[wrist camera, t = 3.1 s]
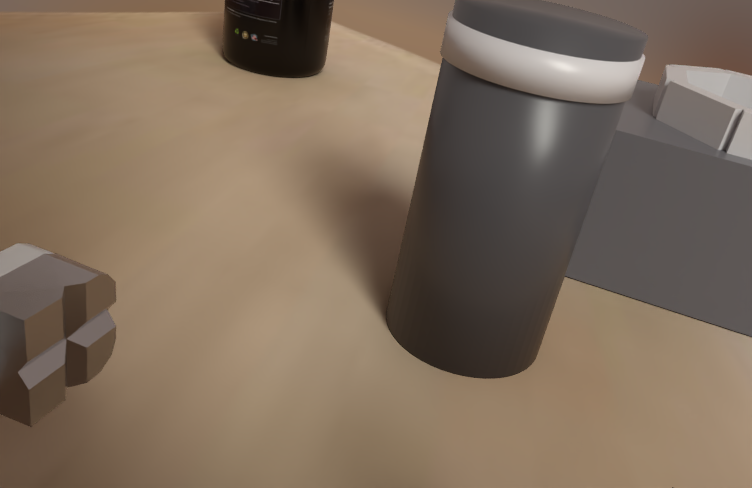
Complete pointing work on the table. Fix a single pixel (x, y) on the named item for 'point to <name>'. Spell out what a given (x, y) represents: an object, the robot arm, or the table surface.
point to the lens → (507, 178)
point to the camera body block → (677, 199)
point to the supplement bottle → (277, 35)
